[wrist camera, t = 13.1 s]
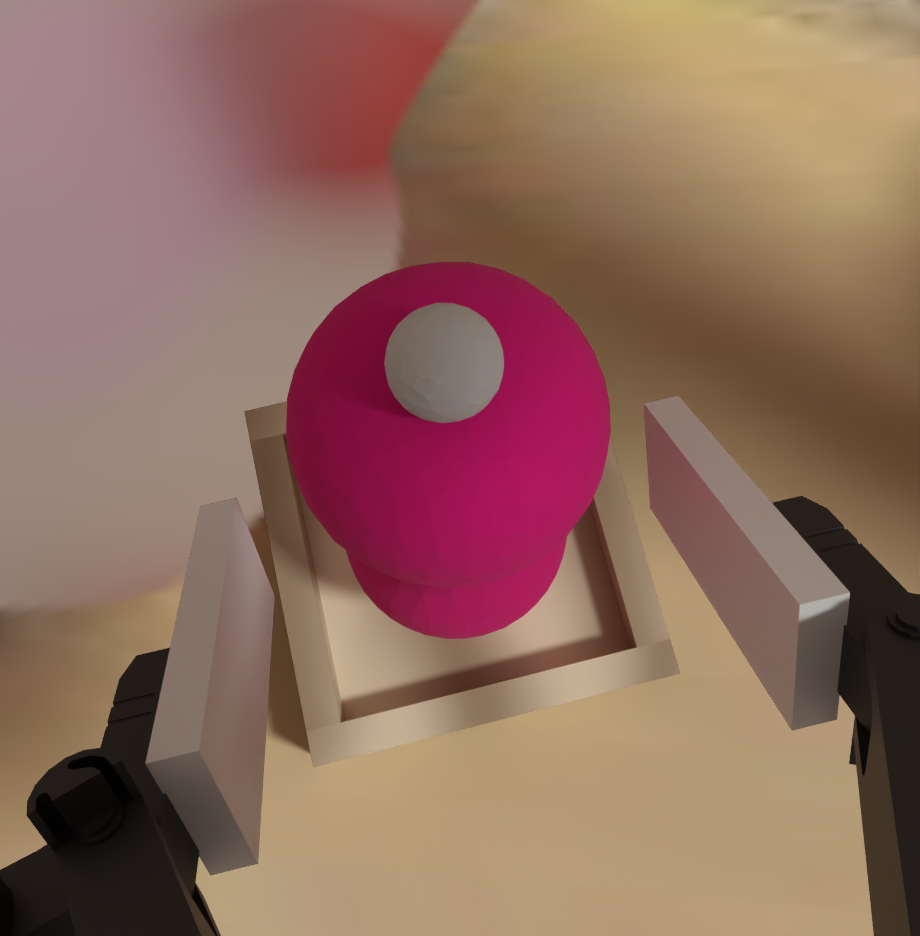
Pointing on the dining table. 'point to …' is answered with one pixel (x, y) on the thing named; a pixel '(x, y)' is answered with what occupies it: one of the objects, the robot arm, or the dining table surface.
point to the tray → (452, 660)
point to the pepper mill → (449, 442)
